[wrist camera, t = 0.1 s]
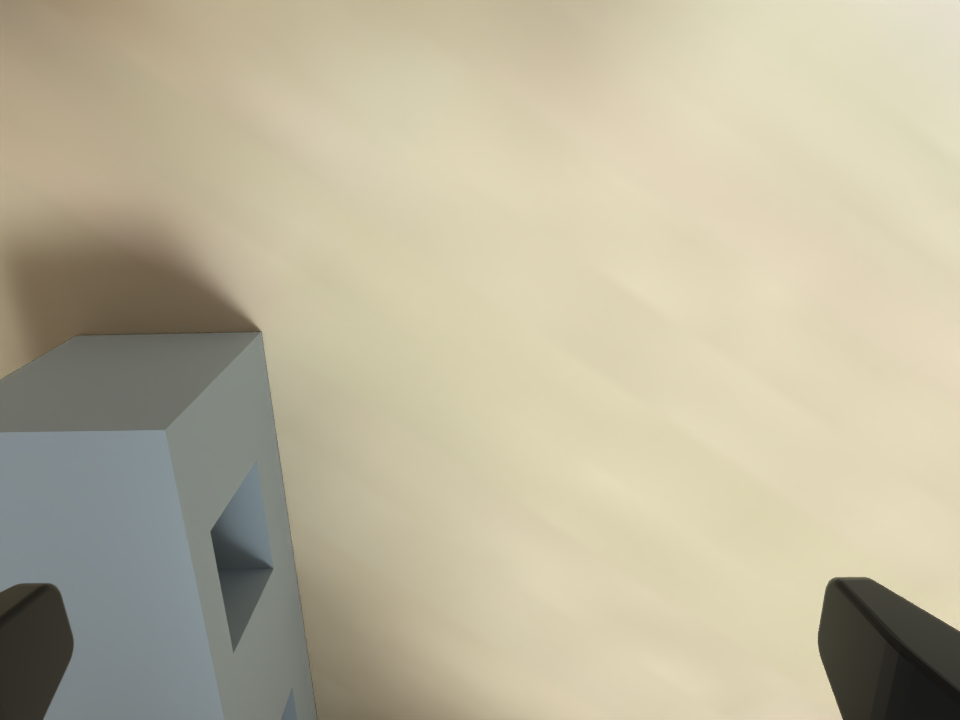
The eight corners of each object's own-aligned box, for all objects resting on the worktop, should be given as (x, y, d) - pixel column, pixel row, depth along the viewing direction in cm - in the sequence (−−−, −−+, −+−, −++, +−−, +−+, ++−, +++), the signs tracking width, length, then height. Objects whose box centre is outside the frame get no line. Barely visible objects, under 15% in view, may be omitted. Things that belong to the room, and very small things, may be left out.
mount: (327, 789, 30) (278, 986, 23) (185, 789, 30) (96, 984, 24) (261, 331, 23) (164, 429, 16) (76, 335, 23) (-93, 433, 17)
